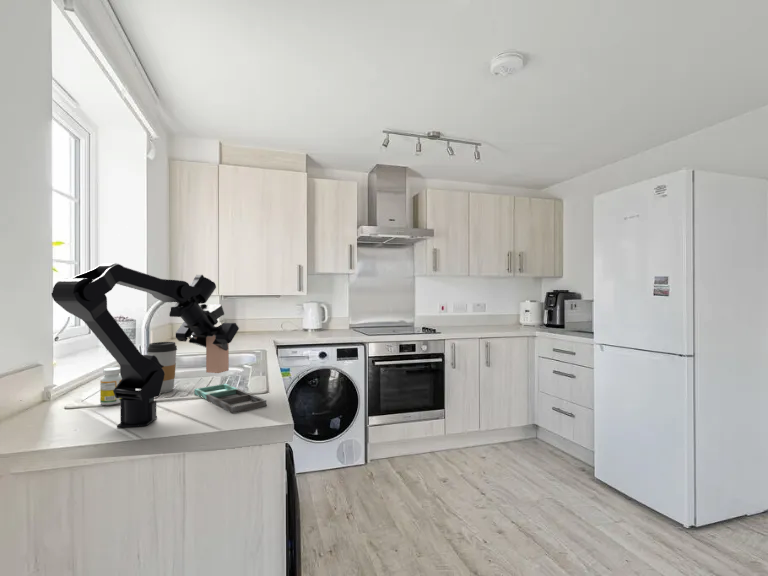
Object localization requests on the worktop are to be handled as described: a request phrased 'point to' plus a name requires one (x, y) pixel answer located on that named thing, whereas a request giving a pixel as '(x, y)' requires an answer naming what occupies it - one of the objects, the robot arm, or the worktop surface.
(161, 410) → the worktop surface
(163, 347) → the coffee cup
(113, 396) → the supplement bottle
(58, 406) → the worktop surface
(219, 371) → the slim block
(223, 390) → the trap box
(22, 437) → the worktop surface
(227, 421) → the worktop surface
